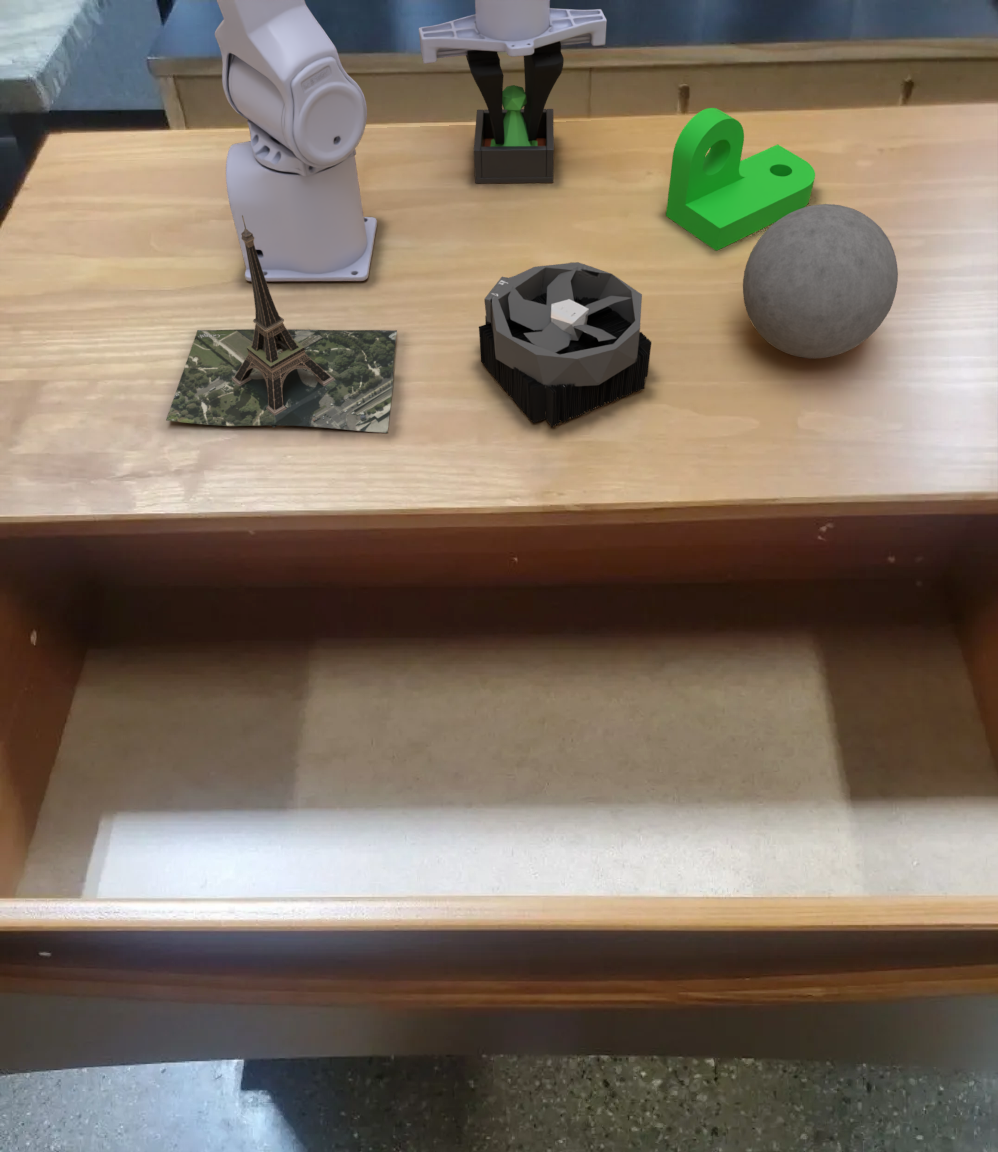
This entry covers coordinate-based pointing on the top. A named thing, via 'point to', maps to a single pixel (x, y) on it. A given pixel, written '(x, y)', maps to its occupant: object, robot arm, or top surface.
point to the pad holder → (514, 154)
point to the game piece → (514, 118)
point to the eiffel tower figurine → (286, 372)
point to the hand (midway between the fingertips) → (514, 136)
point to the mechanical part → (731, 182)
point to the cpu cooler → (564, 340)
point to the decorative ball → (820, 281)
